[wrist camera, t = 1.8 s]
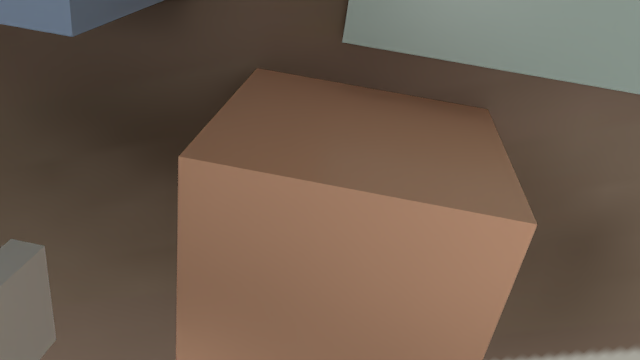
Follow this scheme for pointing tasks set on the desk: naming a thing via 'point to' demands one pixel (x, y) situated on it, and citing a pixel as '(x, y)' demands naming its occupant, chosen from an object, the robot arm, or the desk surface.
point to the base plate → (511, 35)
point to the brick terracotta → (344, 226)
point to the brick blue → (67, 14)
